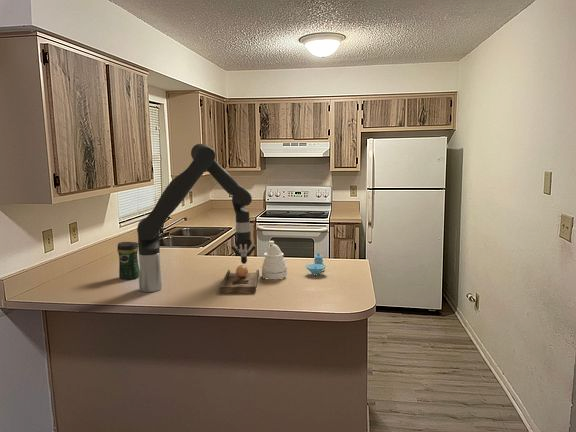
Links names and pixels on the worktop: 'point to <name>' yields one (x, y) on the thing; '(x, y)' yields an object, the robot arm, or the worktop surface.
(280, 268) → the honey pot
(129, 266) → the coffee jar
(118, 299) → the worktop surface
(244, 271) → the ball
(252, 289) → the track
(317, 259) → the light blue flared piece
